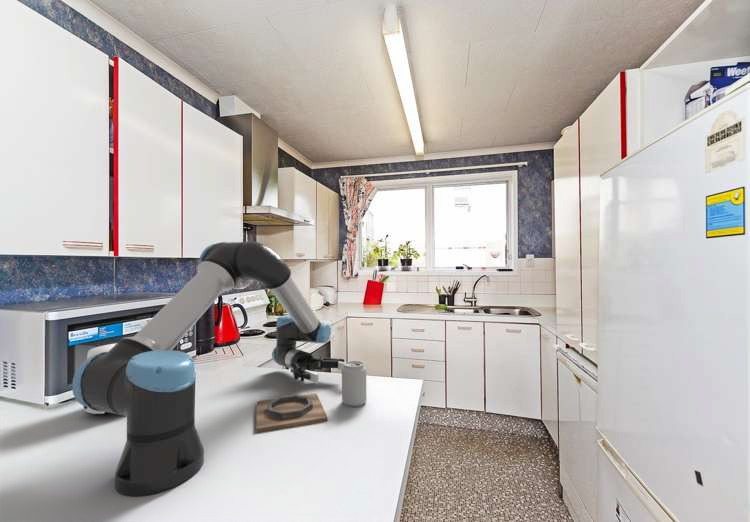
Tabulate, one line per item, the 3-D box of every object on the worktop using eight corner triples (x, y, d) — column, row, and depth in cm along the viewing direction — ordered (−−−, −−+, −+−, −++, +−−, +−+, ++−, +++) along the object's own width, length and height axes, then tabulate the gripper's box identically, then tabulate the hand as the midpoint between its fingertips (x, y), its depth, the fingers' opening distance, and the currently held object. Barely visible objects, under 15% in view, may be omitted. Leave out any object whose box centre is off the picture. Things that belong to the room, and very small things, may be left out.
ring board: (327, 420, 89) (327, 411, 89) (256, 432, 83) (256, 422, 83) (316, 396, 106) (316, 388, 106) (256, 404, 100) (256, 396, 100)
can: (371, 402, 101) (371, 362, 101) (353, 410, 95) (353, 368, 95) (354, 395, 106) (354, 358, 106) (336, 403, 100) (336, 363, 100)
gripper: (327, 364, 131) (363, 376, 116) (268, 379, 114) (301, 396, 99) (327, 345, 131) (363, 354, 116) (268, 357, 114) (301, 371, 99)
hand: (334, 373), depth 107 cm, fingers open, 13 cm apart
